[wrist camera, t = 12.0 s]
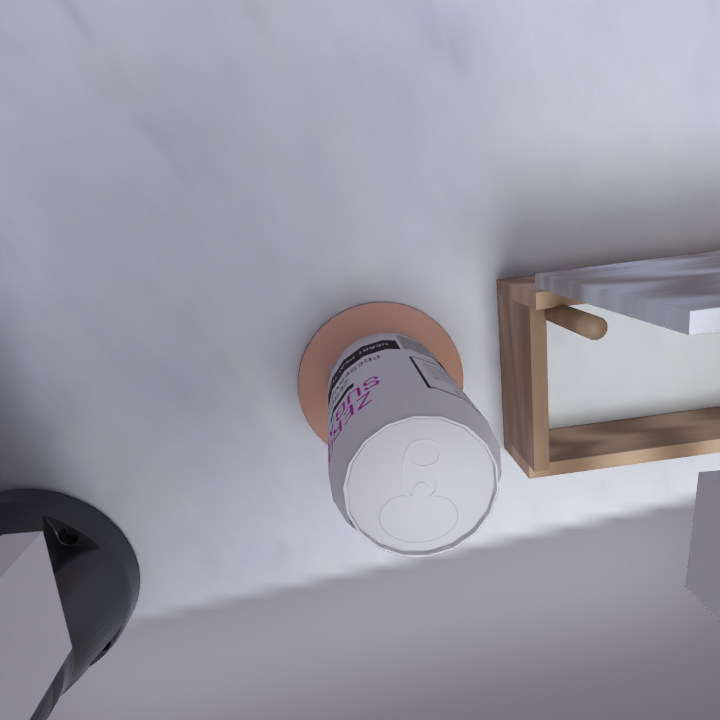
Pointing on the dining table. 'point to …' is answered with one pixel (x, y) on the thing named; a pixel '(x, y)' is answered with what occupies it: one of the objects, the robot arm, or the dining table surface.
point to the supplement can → (407, 448)
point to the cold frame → (608, 291)
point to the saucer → (357, 326)
